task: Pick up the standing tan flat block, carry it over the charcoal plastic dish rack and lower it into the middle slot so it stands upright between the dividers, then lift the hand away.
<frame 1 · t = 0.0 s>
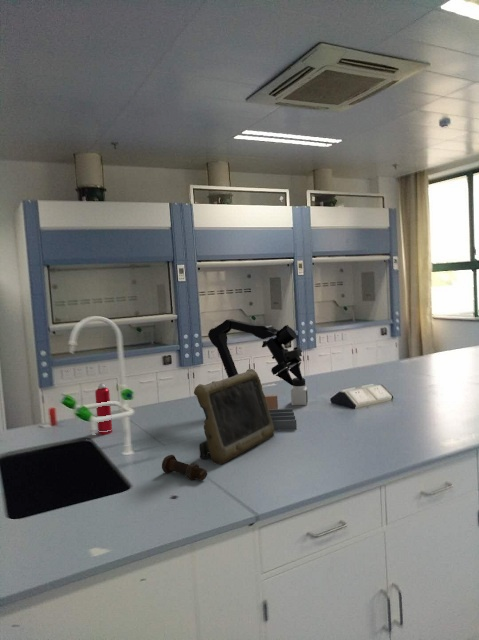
hand: (297, 382, 186), 15 cm above the worktop, tool tilted 35°, fingers open, 9 cm apart
tablet: (238, 447, 156), on the worktop
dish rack: (277, 423, 181), on the worktop
bolt: (185, 477, 134), on the worktop
medicine bottle: (299, 403, 210), on the worktop
bottle: (105, 432, 181), on the worktop
tan flat block: (268, 413, 196), on the worktop
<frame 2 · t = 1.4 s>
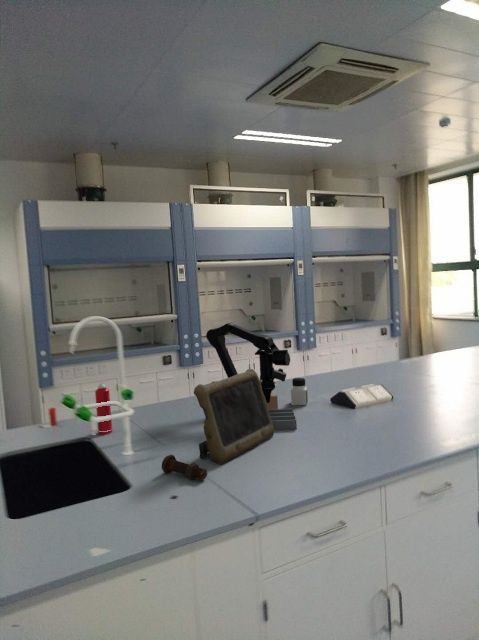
hand: (267, 400, 195), 6 cm above the worktop, tool pointing down, fingers open, 9 cm apart
nothing on the worktop moved.
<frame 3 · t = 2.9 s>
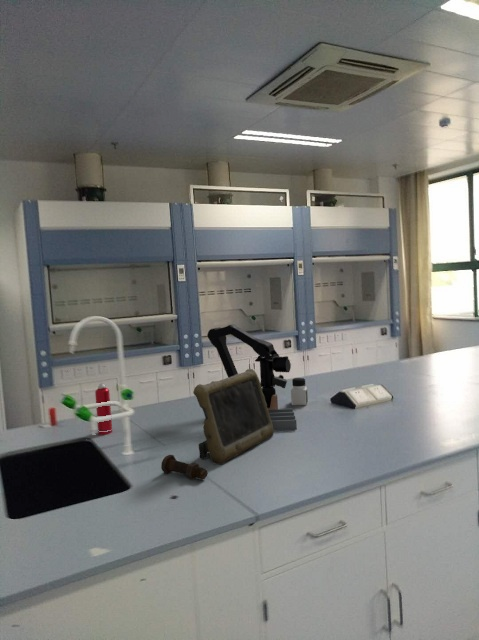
hand: (268, 406, 196), 3 cm above the worktop, tool pointing down, fingers closed on tan flat block, 3 cm apart
tan flat block: (268, 413, 196), on the worktop, touching gripper
everything else where it was.
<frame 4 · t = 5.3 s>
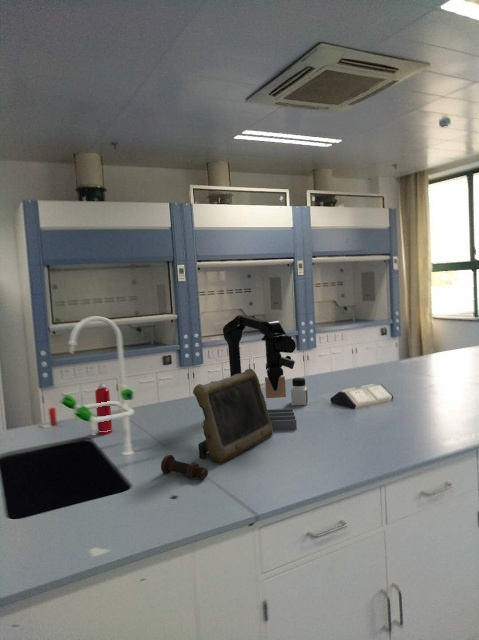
hand: (275, 389, 182), 13 cm above the worktop, tool pointing down, fingers closed on tan flat block, 3 cm apart
tan flat block: (275, 396, 182), point 10 cm above the worktop, touching gripper
everything else where it was.
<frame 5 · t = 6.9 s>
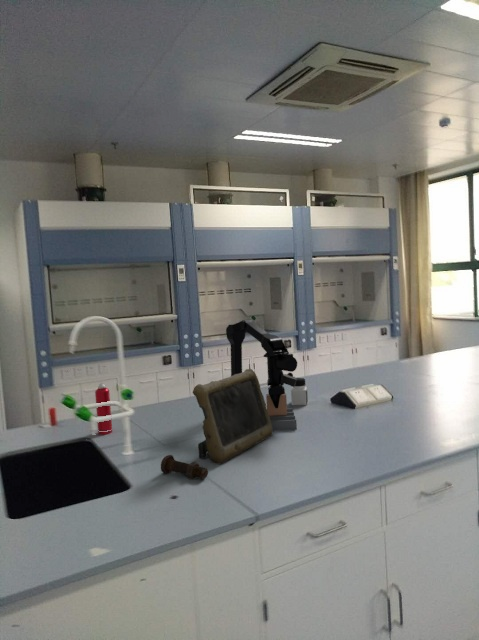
hand: (276, 406, 180), 7 cm above the worktop, tool pointing down, fingers closed on tan flat block, 3 cm apart
tan flat block: (277, 414, 181), point 4 cm above the worktop, touching gripper
everything else where it was.
when the fingers open (5 cm above the worktop, at t = 8.0 s): tan flat block drops 1 cm, resting on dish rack.
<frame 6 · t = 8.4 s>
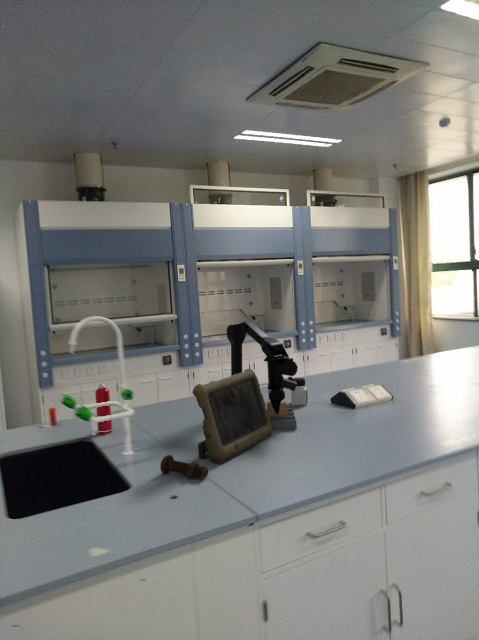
hand: (276, 411, 180), 5 cm above the worktop, tool pointing down, fingers open, 7 cm apart
tan flat block: (277, 422, 181), point 1 cm above the worktop, touching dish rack
everything else where it was.
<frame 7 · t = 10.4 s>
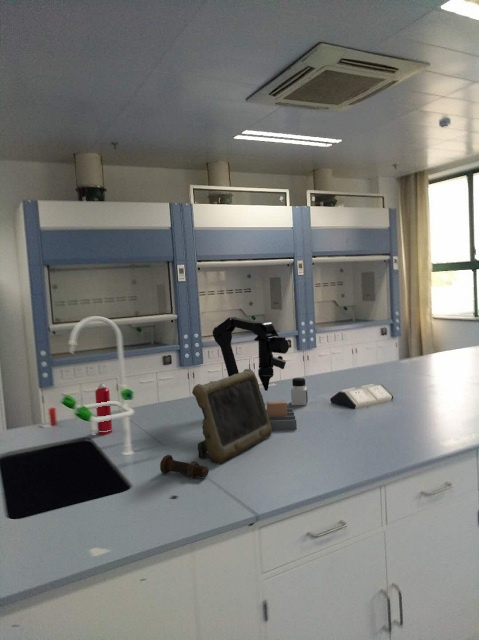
hand: (266, 387, 190), 12 cm above the worktop, tool pointing down, fingers open, 9 cm apart
nothing on the worktop moved.
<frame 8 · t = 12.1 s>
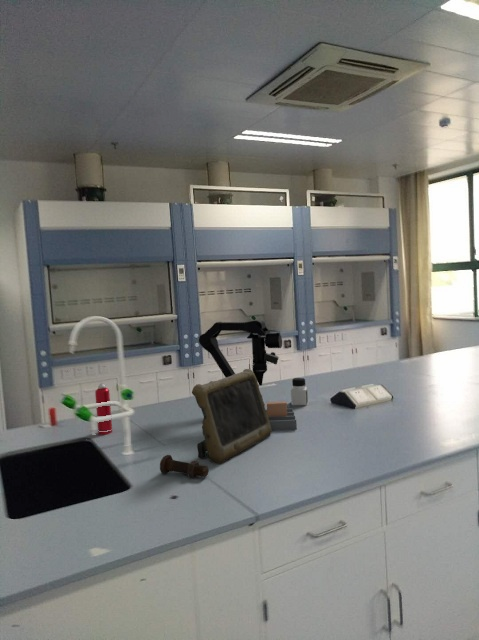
hand: (260, 383, 198), 13 cm above the worktop, tool pointing down, fingers open, 9 cm apart
at the end: tan flat block 0.0 cm off-centre on the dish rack, point 0.6 cm above the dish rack's base; tan flat block tilted 0°; the gripper is holding nothing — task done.
